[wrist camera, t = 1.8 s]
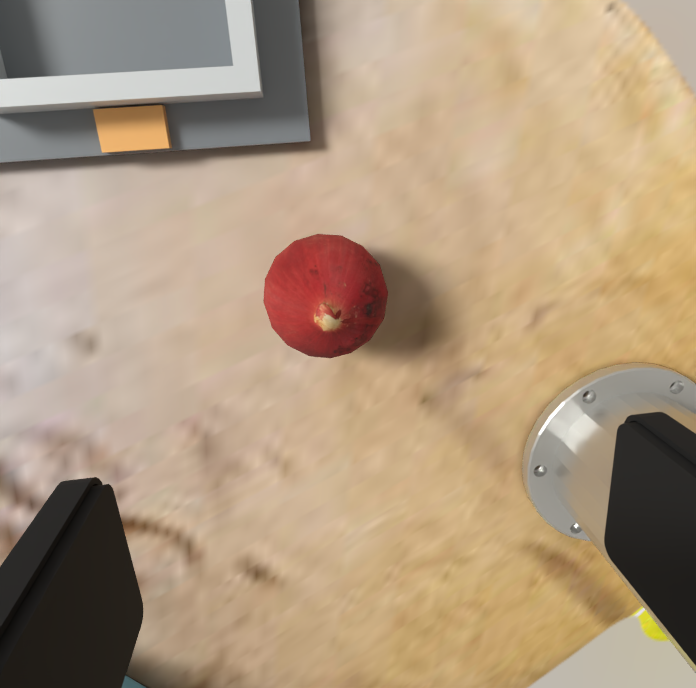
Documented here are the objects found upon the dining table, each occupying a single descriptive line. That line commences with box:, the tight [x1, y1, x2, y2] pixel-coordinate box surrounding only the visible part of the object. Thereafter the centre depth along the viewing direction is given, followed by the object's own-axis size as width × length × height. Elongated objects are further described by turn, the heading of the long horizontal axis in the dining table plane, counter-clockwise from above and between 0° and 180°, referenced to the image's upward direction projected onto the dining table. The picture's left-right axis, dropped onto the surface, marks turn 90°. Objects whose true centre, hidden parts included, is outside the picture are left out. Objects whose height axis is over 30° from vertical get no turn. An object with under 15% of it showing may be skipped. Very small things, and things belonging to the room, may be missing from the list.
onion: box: [264, 234, 388, 358], centre depth 25 cm, size 6×6×8 cm
